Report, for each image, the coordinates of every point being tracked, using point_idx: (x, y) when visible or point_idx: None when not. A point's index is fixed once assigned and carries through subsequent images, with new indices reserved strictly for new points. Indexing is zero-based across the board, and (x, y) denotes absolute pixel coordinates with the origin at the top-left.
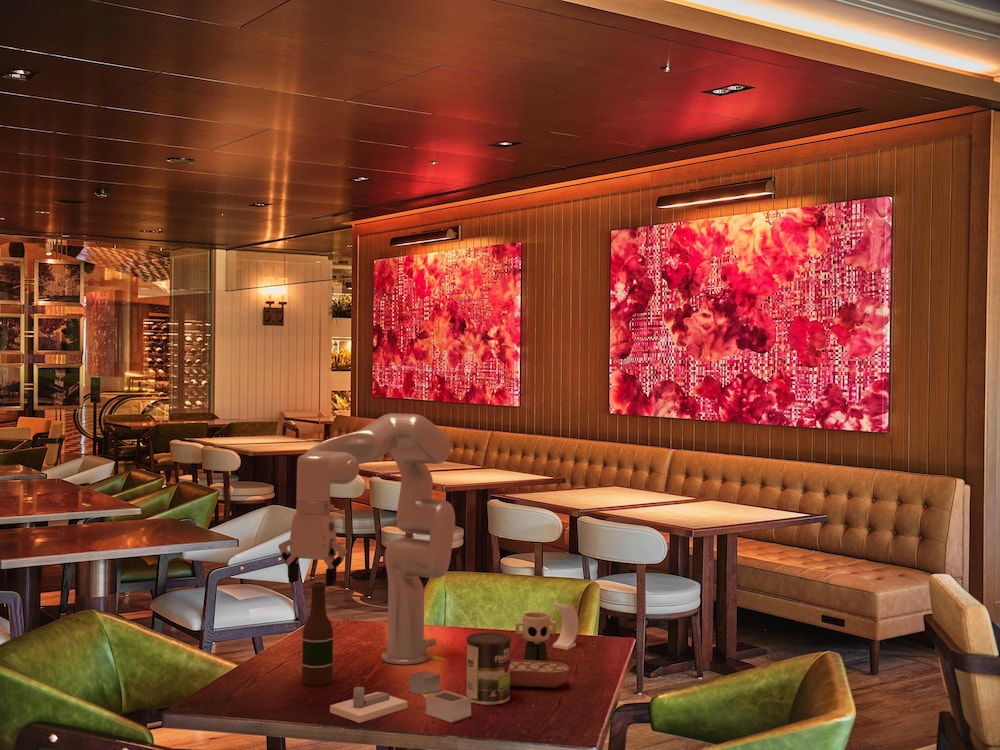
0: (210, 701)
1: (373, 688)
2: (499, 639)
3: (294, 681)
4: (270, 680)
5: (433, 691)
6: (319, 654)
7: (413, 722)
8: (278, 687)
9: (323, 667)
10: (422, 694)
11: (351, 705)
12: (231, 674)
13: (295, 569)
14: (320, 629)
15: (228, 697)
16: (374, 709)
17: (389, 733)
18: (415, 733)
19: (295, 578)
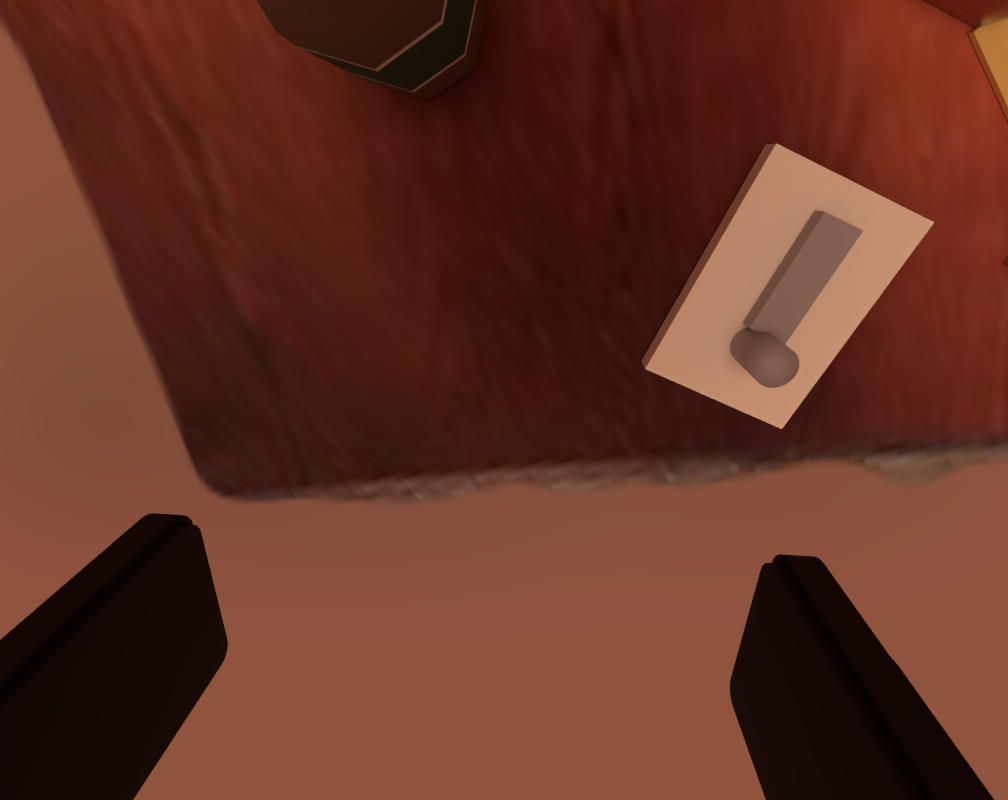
0: (230, 391)
1: (704, 6)
2: None
3: None
4: (229, 87)
5: None
6: (433, 57)
7: (960, 357)
8: (320, 167)
9: (463, 57)
10: (970, 23)
11: (720, 343)
12: (34, 73)
13: (88, 742)
14: (395, 7)
15: (248, 339)
16: (817, 355)
17: (891, 466)
18: (978, 444)
19: (188, 607)
